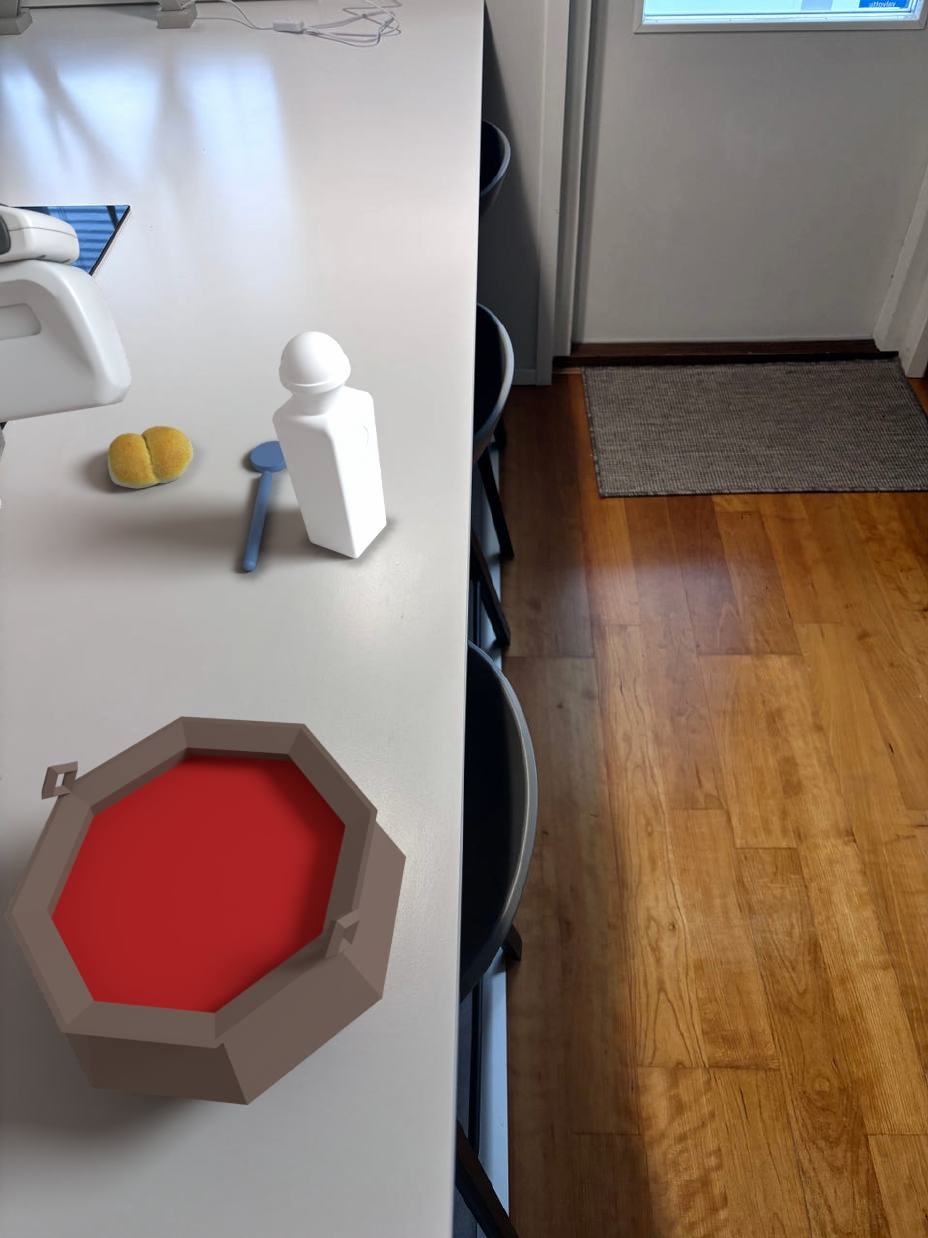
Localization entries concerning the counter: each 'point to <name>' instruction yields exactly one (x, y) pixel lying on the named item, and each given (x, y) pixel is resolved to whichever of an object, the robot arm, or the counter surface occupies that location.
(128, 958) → the octagonal pot
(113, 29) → the counter surface
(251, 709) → the counter surface
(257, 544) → the spoon
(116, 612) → the counter surface
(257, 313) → the counter surface
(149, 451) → the bread roll
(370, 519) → the white square bottle
